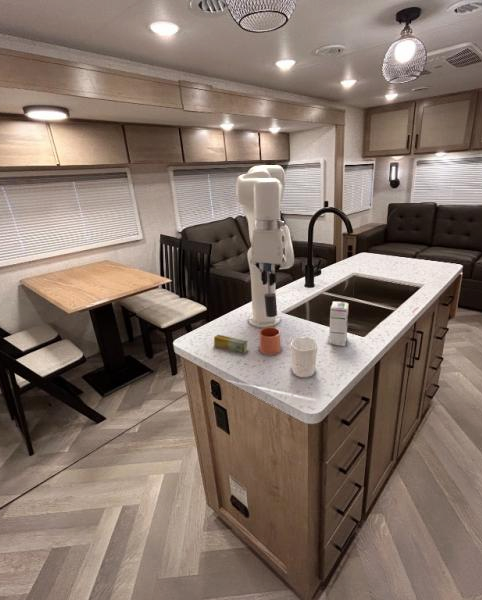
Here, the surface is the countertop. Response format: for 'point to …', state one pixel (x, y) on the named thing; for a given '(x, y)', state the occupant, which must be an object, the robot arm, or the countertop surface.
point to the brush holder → (270, 340)
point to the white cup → (304, 356)
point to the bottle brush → (270, 295)
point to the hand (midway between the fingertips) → (268, 283)
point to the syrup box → (338, 323)
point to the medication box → (230, 344)
